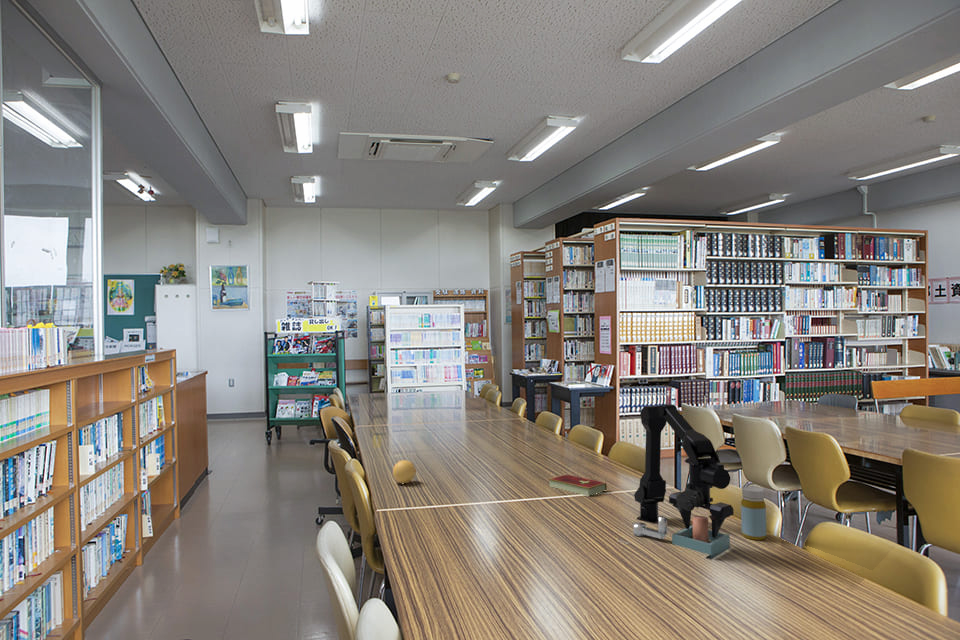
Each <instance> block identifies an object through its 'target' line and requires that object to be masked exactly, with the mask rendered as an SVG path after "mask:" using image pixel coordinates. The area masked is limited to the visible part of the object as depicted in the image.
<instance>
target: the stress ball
mask: <svg viewBox="0 0 960 640" xmlns="http://www.w3.org/2000/svg"><path fill="white" fill-rule="evenodd" d="M416 472H417V469H416V467H415V465H414V463H413V462H412V461H410V460H405V459H403V460H399V461H398V462H397V463H395V465H394V466H393V468H392V476H393V478H394V480H395V481H396V482H398V483H400V484H401V483H407V484H408V483H410V482H411V481H412V480H413V479H414V477H415V475H416Z"/></svg>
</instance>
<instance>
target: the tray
mask: <svg viewBox="0 0 960 640" xmlns="http://www.w3.org/2000/svg"><path fill="white" fill-rule="evenodd" d="M671 540H672V541H671V544H672V545H674V546H677V547H681V548H685V549H690V550H692V551H695V552H699V553H702V554H706V555H707V556H706V559H708V558H709V560H712V558H713V559H714V558H716V557H718V556H720V555H721V554H723V553H724V552H727V551H728V550H730V549H731V542H730V540H731V538H730V534H727V533H723V532H720V531H719V532H718V534H717V536H716V537H715V538H713V537H712V529H708V540H709V541H711V542H709V543H706V542H702V541H699V540H695V539H693V524H692V525H691V524H690V527H689V529H686V527H685V528H682V529H681V530H679V531H677V532H675V533H673V534H671Z"/></svg>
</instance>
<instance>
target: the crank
mask: <svg viewBox="0 0 960 640" xmlns="http://www.w3.org/2000/svg"><path fill="white" fill-rule="evenodd" d="M657 523H658V525H657V526H658V529H655V528H651V527H647V523H645V522H639V521H636V522H633V524H632V534H633V535H634V536H636V537H645V536H648V537H652V538H657V539H660V540H662V539H664V538H666V535H668V517H667V516H666V515H658V521H657Z"/></svg>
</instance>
